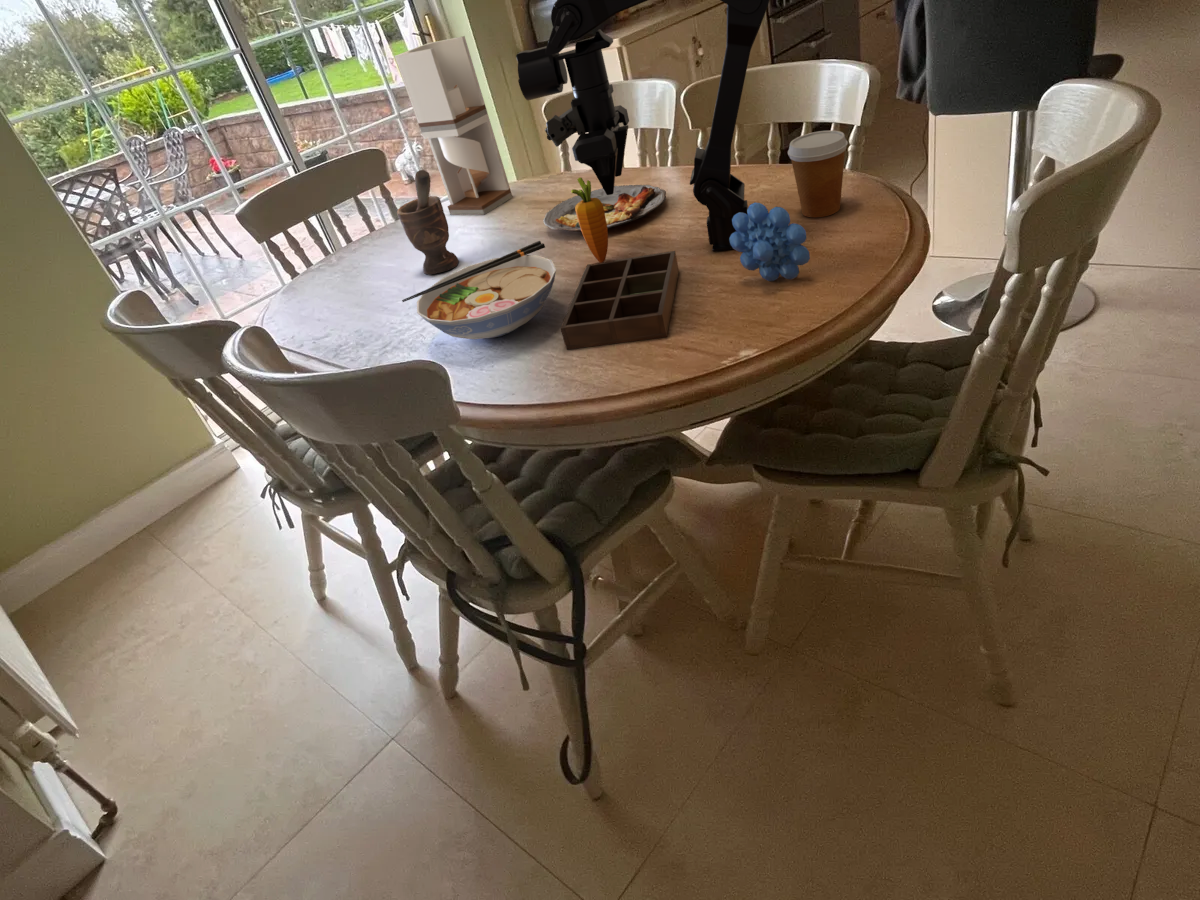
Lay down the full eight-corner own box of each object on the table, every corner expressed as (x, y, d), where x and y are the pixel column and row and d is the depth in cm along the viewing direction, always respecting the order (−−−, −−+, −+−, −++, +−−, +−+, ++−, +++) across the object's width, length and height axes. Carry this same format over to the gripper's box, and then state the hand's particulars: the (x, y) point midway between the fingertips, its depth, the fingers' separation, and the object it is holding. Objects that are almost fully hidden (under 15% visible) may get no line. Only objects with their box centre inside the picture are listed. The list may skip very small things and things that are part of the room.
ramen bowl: (444, 384, 109) (424, 335, 104) (413, 332, 127) (395, 288, 122) (596, 321, 114) (583, 272, 110) (545, 279, 132) (532, 235, 128)
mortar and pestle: (481, 258, 149) (447, 157, 138) (455, 278, 144) (417, 174, 132) (439, 258, 155) (403, 161, 144) (412, 277, 150) (373, 178, 138)
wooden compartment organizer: (679, 271, 122) (675, 250, 120) (666, 337, 105) (662, 314, 103) (591, 284, 126) (586, 264, 124) (566, 349, 109) (560, 328, 107)
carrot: (613, 266, 130) (593, 181, 121) (586, 270, 131) (564, 186, 123) (618, 255, 134) (599, 171, 125) (591, 259, 135) (571, 176, 127)
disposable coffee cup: (818, 225, 124) (813, 152, 117) (781, 215, 131) (775, 145, 124) (862, 205, 126) (860, 132, 119) (823, 196, 134) (819, 127, 127)
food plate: (686, 192, 152) (683, 175, 150) (631, 240, 138) (627, 222, 136) (586, 196, 166) (583, 180, 164) (526, 240, 152) (521, 223, 150)
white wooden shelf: (450, 214, 179) (394, 56, 159) (478, 197, 185) (428, 43, 165) (484, 214, 173) (430, 49, 153) (512, 197, 179) (464, 36, 159)
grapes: (725, 294, 111) (714, 216, 105) (740, 273, 116) (730, 198, 109) (803, 294, 106) (797, 212, 99) (815, 272, 110) (810, 193, 103)
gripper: (554, 83, 124) (578, 176, 133) (527, 112, 110) (557, 214, 119) (618, 67, 121) (639, 163, 130) (599, 94, 107) (624, 201, 116)
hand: (614, 184), depth 124 cm, fingers open, 9 cm apart
